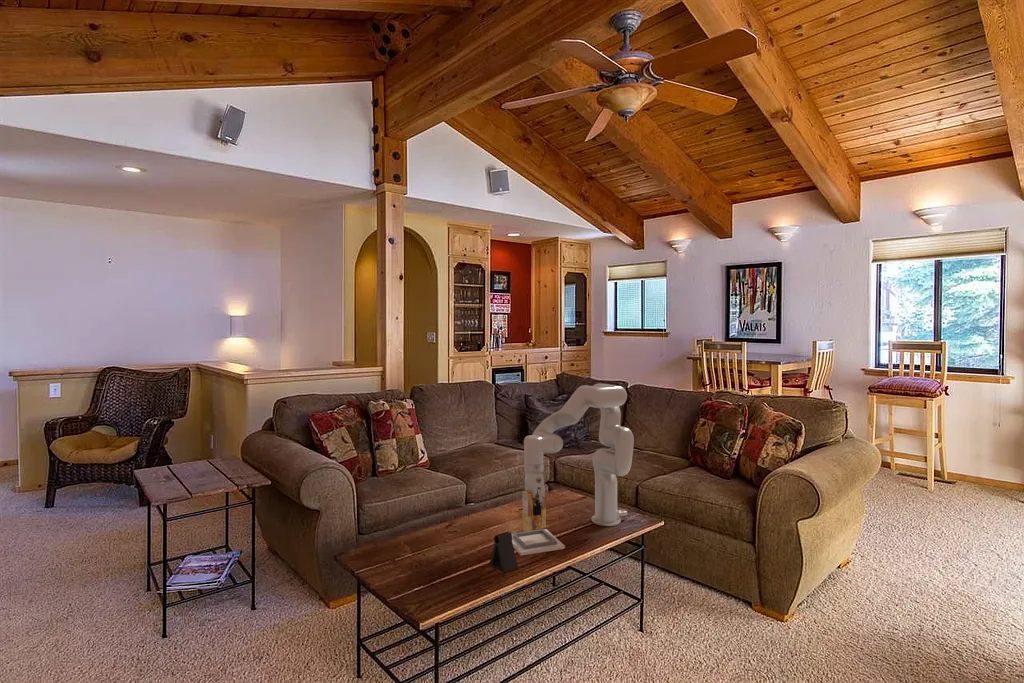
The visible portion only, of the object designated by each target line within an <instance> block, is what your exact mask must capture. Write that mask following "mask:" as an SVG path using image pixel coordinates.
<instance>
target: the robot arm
mask: <svg viewBox="0 0 1024 683" xmlns="http://www.w3.org/2000/svg"><path fill="white" fill-rule="evenodd" d="M627 399H628V392H627V390H626V389H625V388H624V387H623V386H621V385H616V384H615V385H614V384H608V383H600V382H599V383H596V384H594V385H585V384H584V385H580V386H579V387H577V388H576V390H575V391H573V393H572V394H571V396H570V398H569V399H568V400H567V401H566V402H565V403H564V405H563V406H562V407H561V409H559V410H558V411H556V412H554V413H553V414H551V415H549V416H548V417H546V418H545V419H543V420H542V421H541V422H540V423H539V424H538V426H537V427H536V428H535V429H534V431H533V433H532V435H531V434H529V435H526V436H525V437H524V440H523V448H524V449H523V451H524V452H523V454H524V455H523V456H524V457H523V458H524V459H523V462H524V468H523V469H524V472H525V476H524V477H525V478H524V489H525V490H524V491H526V490H528V491H529V492H531V494H532V498H533V501H534V505H533V515H534V516H536V515H541V503H542V501H543V498H542V497H545V490H546V489H545V487H546V486H545V476H544V454H555V453H558V452H560V451H561V450H562V449H563V446H564V440H563V439H562V437H561V436H559V435H558V434H556V433H554V432H555V431H557V430H559V429H561V428H563V427H564V428H565V427H568V426H573V425H575V424H577V423H579V421H580V420H581V419H582V417H583V415H584V414H585V413H586V412H587V411H588V409H589V408H590V407H591V408H596V409H600V420H599V421H600V424H599V430H598V441H599V443H601V444H602V445H604V446H605V447H609V448H613V450H612V449H609V448H599V449H597V450H596V451H594V452H593V455H592V465H593V470H594V484H595V485H594V510H595V511H594V515H592V516H591V522H592V523H593V524H595V525H597V526H601V527H614V526H618V525H619V524H621V523H622V518H621V517H622V516H627V515H628V511H627V510H622V509H618V479H617V476H618V477H619V476H620V477H623V476H626V475H628V473H629V472H630V470H631V467H632V461H633V453H634V444H635V438H634V434H633V432H632V430H631V429H630V428H628V427H625V426H621V420H622V418H621V416H622V412H621V408H620V407H621V406H623V405H624V404H625V403H626V401H627ZM535 496H538V497H535ZM536 499H538V500H537V501H536Z"/></svg>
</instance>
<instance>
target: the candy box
mask: <svg viewBox="0 0 1024 683" xmlns="http://www.w3.org/2000/svg"><path fill="white" fill-rule="evenodd" d="M546 492H547V490H546V489H545V497H542V498H543V501H542V503H541V515H536V516H534V515H533V505H534V501H533V498H532V494H531V492H529V491H528V490H526V491H525V490H524V491H523V490H522V530H524V531H525V532H527V531H528V532H530V531H533V530H540V529H545V528H547V522H546V521H547V520H546V519H547V518H546V517H547V516H546V515H547V514H546V513H547V512H546V510H547V508H546V507H547V504H546V502H547V500H546V499H547V498H546V497H547V495H546ZM535 497H538V496H535ZM537 500H538V499H536V501H537Z"/></svg>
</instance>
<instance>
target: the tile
mask: <svg viewBox="0 0 1024 683" xmlns="http://www.w3.org/2000/svg"><path fill="white" fill-rule="evenodd" d="M511 534H512V543H513V547H514V550H515V551H517V553H518V554H519V555H520V556H521V557H522V556H526V555H527V556H528V555H534V554H540V553H541V554H542V553H546V552H552V551H559V550H564V549H565V548H566V546H565V544H563V543H562V542H561V541H560V539H558V538H557V537H555V535H553V534H552V533H551V531H549V530H548V529H547V528H546V529H545V528H541V529H537V530H533V531H530V532H528V531H520V532H514V533H511Z"/></svg>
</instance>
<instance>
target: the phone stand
mask: <svg viewBox="0 0 1024 683" xmlns="http://www.w3.org/2000/svg"><path fill="white" fill-rule="evenodd" d="M512 534H513V533H512V532H511V531H506V532H505V531H504V532H502V533H499V534H496V535H494V537H493V540H494V543H493V548H492V550H491V555H490V558H489V563H488V564H489V566H492V567H493V568H495V569H497V570H499V571H501V572H503V573H507V572H510V571H512V570H515V569H517V568H518V567H519V566H518V562H517V557H516V552H515V548H514V547H513V543H512Z"/></svg>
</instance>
